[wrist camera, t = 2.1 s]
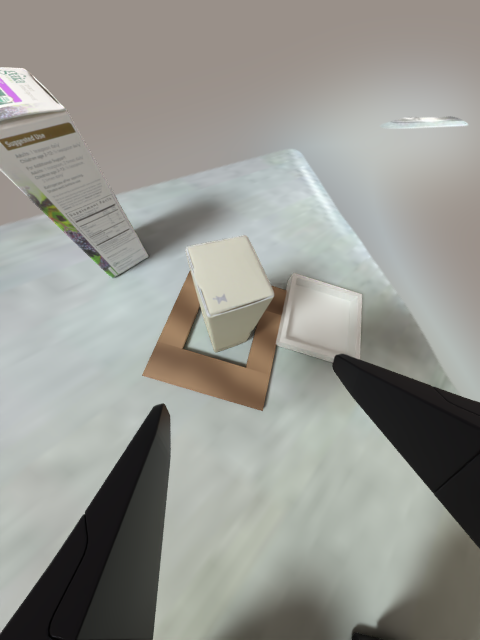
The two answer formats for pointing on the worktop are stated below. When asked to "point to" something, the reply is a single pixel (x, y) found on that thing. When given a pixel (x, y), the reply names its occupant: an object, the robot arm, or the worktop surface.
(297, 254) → the worktop surface
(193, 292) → the walnut frame
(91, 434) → the worktop surface
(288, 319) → the white tray
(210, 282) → the box
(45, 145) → the syrup box
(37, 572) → the worktop surface
